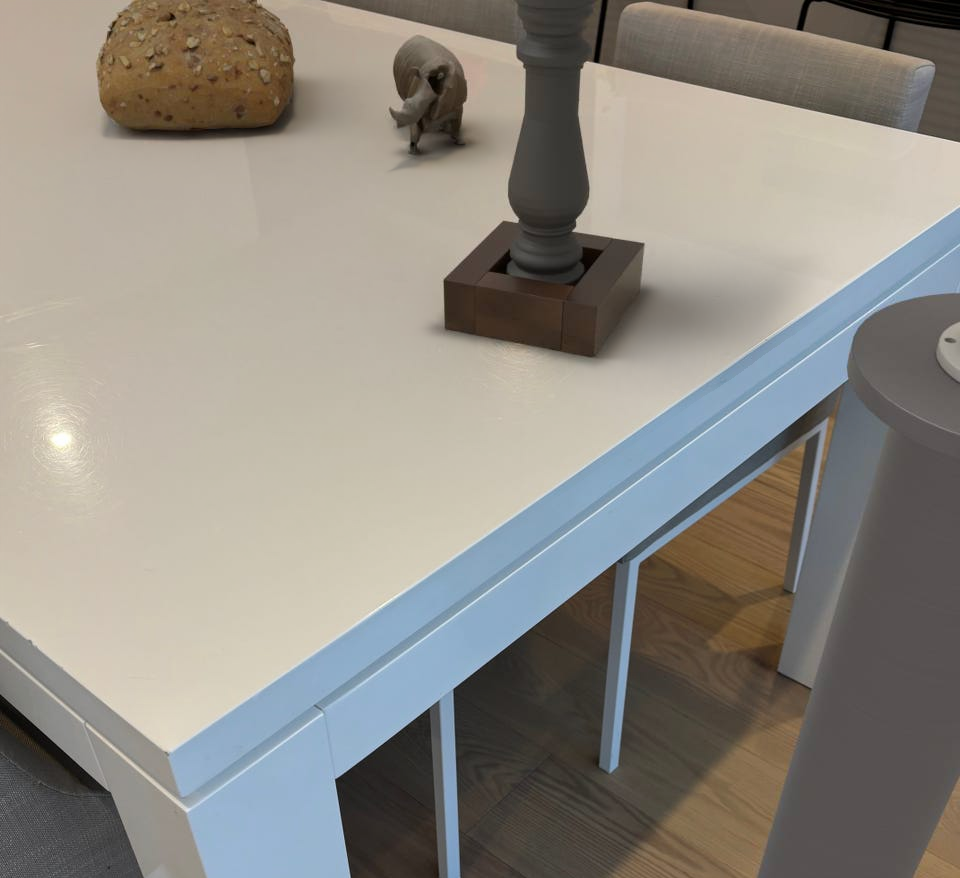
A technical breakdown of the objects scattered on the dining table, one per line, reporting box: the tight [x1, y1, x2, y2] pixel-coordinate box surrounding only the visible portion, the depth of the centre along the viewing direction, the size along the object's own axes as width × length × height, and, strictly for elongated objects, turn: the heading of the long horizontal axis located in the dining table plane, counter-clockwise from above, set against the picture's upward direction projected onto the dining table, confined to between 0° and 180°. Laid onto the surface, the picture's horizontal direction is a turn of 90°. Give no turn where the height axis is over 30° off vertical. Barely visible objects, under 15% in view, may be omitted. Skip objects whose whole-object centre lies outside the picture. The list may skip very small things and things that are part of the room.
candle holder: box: [507, 0, 599, 287], centre depth 78 cm, size 6×6×25 cm
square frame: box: [442, 220, 645, 358], centre depth 85 cm, size 12×12×4 cm
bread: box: [95, 0, 296, 132], centre depth 121 cm, size 24×21×12 cm
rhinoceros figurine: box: [388, 34, 468, 156], centre depth 113 cm, size 8×14×15 cm
